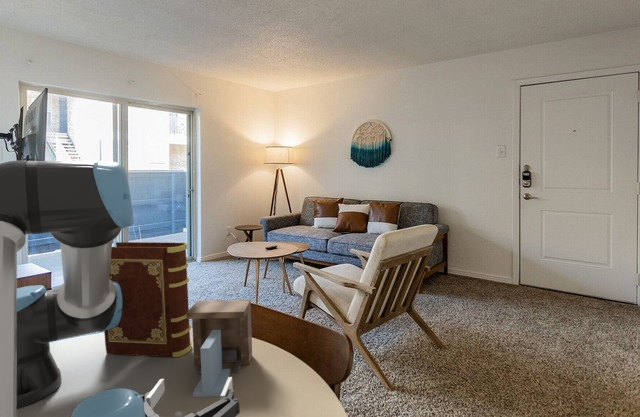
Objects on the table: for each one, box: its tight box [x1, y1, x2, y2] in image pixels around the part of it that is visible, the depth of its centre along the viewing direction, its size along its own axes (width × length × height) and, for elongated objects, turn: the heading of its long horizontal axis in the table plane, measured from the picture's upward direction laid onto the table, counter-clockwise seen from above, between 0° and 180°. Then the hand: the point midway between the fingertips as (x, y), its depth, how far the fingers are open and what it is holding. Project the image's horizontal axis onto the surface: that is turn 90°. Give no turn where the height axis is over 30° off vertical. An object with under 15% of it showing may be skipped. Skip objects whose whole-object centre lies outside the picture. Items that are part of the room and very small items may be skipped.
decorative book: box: [103, 241, 193, 358], centre depth 105 cm, size 22×8×30 cm, turn 83°
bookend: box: [192, 330, 231, 398], centre depth 88 cm, size 6×10×11 cm, turn 1°
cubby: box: [186, 299, 253, 375], centre depth 97 cm, size 14×9×16 cm, turn 91°
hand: (196, 384), depth 76 cm, fingers open, 13 cm apart
